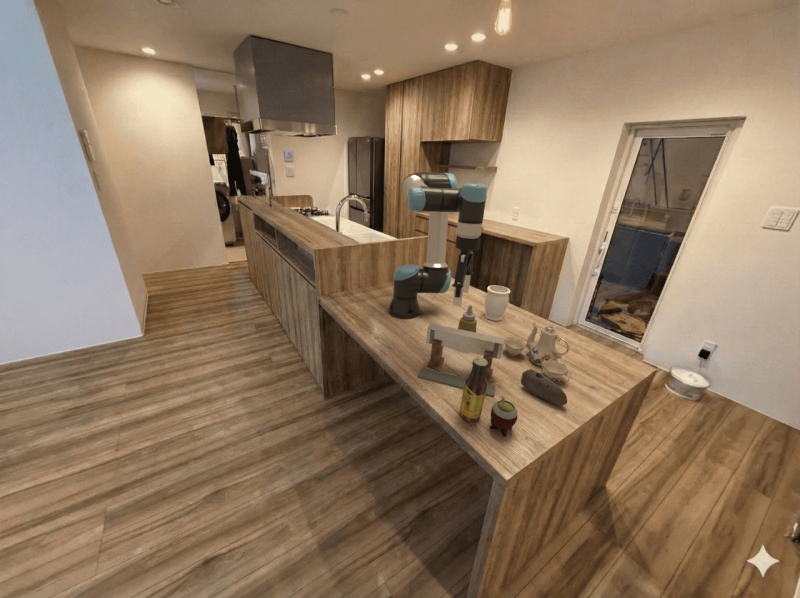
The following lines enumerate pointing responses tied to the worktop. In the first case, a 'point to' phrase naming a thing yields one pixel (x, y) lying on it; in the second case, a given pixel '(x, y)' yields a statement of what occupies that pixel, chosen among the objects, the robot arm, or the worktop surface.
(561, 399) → the perforated stone tool
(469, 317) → the squeeze bottle
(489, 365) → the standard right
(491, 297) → the jar
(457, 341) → the rail
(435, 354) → the standard left
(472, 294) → the worktop surface
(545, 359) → the chinaware
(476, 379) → the sauce bottle
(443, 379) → the mat
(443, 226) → the robot arm
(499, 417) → the mate gourd
